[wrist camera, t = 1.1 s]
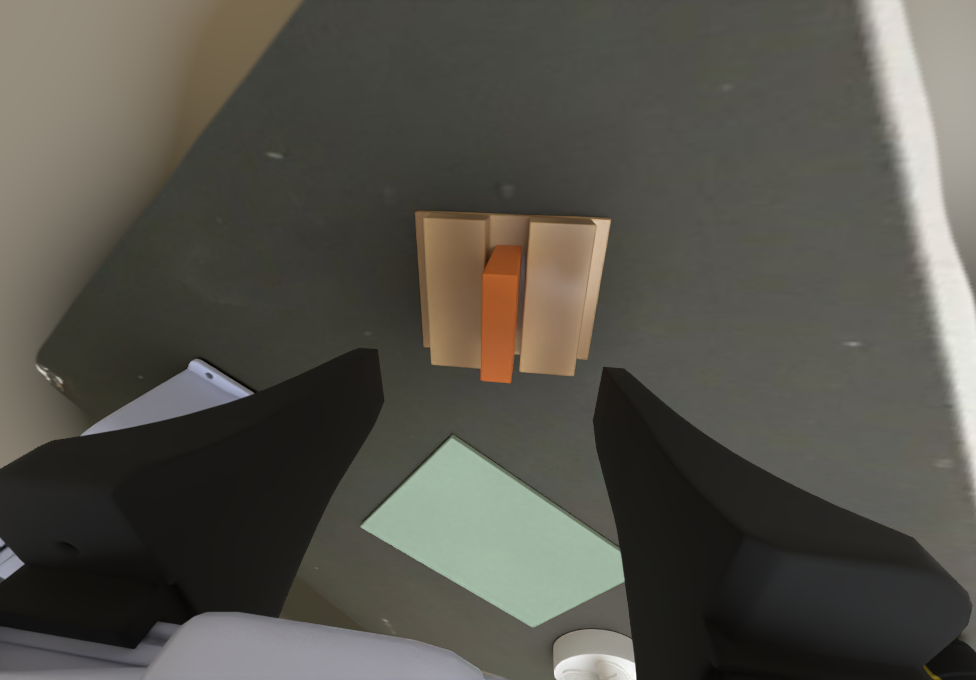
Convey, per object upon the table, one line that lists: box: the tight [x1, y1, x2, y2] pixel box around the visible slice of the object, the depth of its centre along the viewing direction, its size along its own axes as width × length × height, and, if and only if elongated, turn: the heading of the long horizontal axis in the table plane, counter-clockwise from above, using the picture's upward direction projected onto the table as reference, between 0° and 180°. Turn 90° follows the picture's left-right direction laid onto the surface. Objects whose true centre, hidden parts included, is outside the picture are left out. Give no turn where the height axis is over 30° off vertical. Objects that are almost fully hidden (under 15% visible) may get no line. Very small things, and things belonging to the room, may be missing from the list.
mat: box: [360, 435, 625, 627], centre depth 30 cm, size 20×14×1 cm
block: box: [481, 245, 522, 383], centre depth 17 cm, size 1×5×6 cm, turn 179°
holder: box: [415, 210, 611, 376], centre depth 19 cm, size 10×8×3 cm
